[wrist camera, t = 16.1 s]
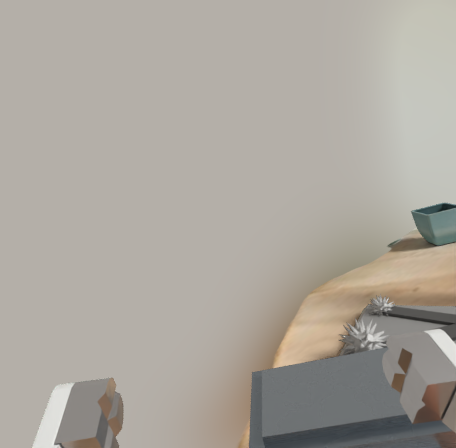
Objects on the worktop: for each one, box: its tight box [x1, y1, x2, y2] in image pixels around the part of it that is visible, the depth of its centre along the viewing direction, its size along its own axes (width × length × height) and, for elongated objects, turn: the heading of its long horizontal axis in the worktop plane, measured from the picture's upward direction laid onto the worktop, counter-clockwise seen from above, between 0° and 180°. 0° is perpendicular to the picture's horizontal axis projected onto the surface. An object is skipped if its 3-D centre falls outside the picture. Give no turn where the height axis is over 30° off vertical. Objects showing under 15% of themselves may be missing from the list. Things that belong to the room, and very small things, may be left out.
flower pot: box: [411, 203, 456, 246], centre depth 85 cm, size 9×9×9 cm
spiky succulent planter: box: [339, 295, 456, 356], centre depth 42 cm, size 30×22×7 cm
